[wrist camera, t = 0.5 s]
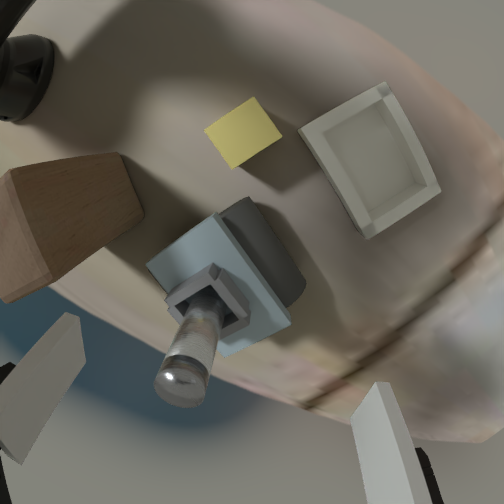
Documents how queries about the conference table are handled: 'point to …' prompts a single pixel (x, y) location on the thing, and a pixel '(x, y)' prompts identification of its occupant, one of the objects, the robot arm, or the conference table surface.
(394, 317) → the conference table surface
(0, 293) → the block
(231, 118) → the yellow cube
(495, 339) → the conference table surface
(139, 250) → the conference table surface
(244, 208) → the grey plate on cylinders
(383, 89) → the tray
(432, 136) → the conference table surface
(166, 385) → the pin
